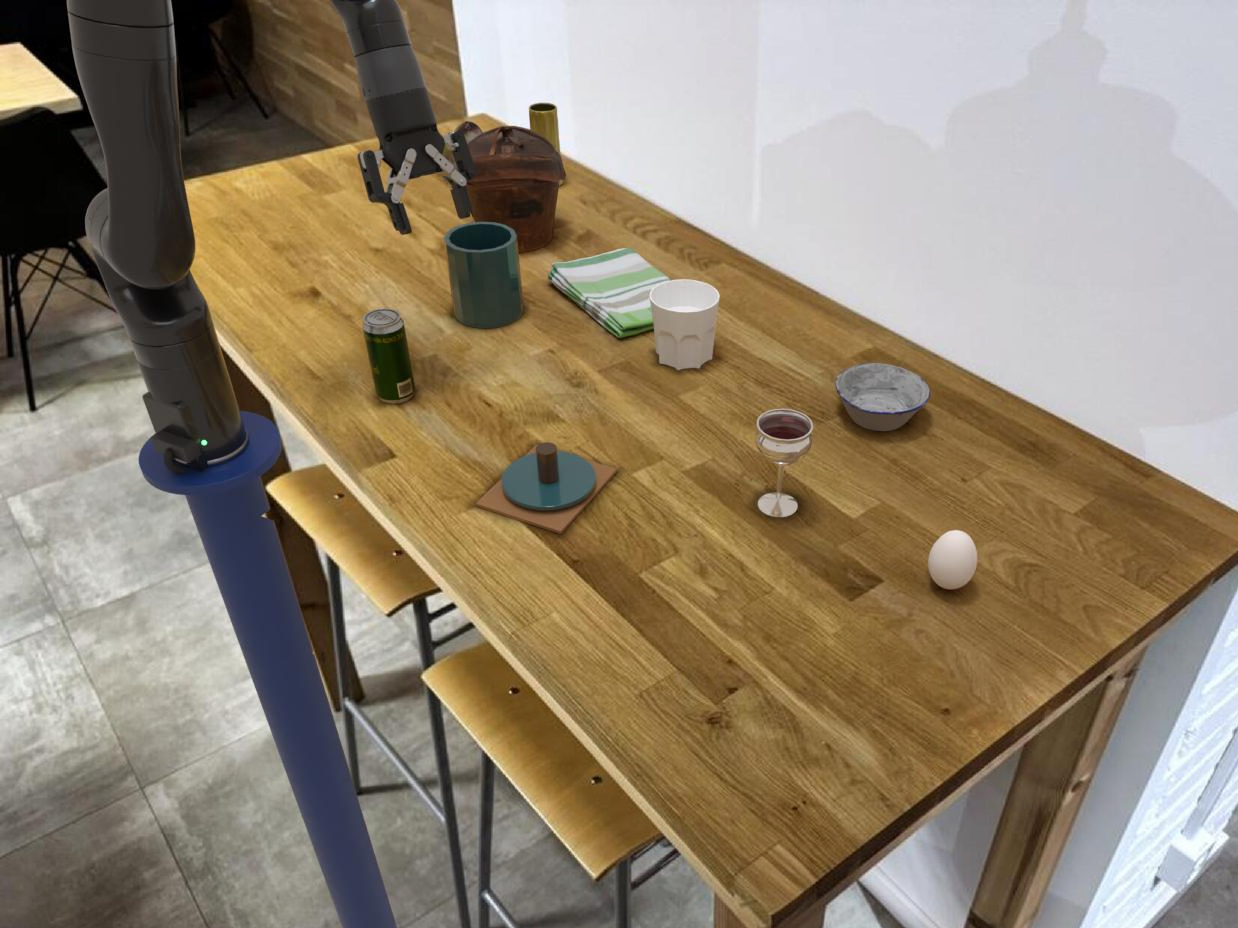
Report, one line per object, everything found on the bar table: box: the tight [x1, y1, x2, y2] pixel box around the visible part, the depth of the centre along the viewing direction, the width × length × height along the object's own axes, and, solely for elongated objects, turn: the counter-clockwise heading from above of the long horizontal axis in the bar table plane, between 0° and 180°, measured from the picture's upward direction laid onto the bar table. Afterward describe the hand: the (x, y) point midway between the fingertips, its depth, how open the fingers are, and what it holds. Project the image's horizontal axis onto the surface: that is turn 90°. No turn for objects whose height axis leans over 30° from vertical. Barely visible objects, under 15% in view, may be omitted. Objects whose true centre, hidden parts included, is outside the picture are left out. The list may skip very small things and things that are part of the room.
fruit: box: [442, 120, 484, 170], centre depth 205 cm, size 10×9×12 cm
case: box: [457, 125, 567, 253], centre depth 183 cm, size 18×20×18 cm
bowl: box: [834, 362, 931, 432], centre depth 148 cm, size 13×13×5 cm
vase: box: [528, 102, 565, 187], centre depth 204 cm, size 6×6×14 cm
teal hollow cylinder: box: [443, 221, 524, 329], centre depth 164 cm, size 11×11×12 cm
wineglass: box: [754, 408, 814, 518], centre depth 129 cm, size 7×7×12 cm
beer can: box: [361, 308, 416, 405], centre depth 146 cm, size 5×5×12 cm
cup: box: [650, 278, 721, 371], centre depth 157 cm, size 10×10×10 cm
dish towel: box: [547, 247, 672, 339], centre depth 172 cm, size 17×23×4 cm
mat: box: [475, 444, 618, 535], centre depth 134 cm, size 14×12×1 cm
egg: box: [927, 529, 978, 590], centre depth 121 cm, size 5×5×8 cm
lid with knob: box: [501, 441, 596, 510], centre depth 132 cm, size 12×12×6 cm
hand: (436, 225), depth 137 cm, fingers open, 8 cm apart
